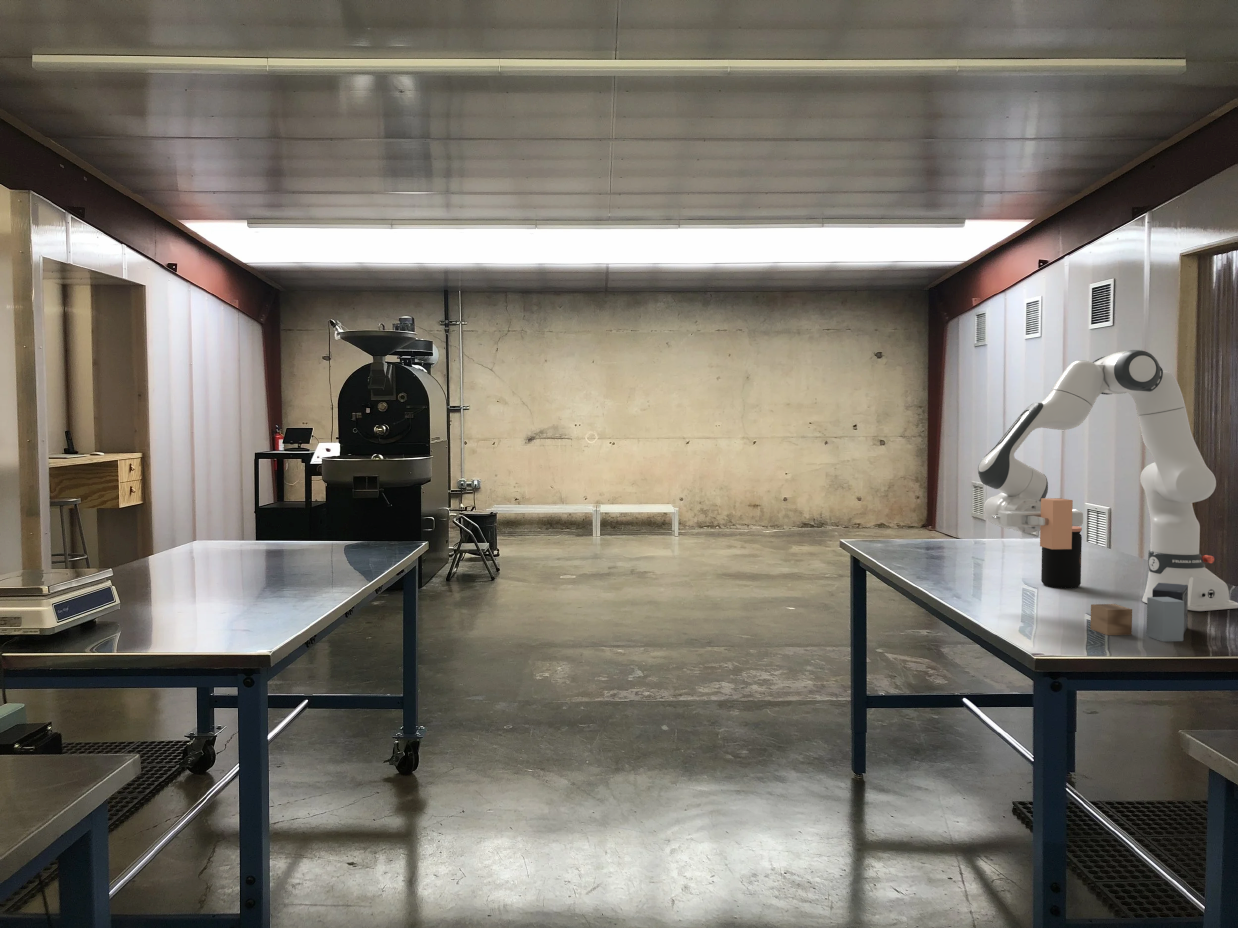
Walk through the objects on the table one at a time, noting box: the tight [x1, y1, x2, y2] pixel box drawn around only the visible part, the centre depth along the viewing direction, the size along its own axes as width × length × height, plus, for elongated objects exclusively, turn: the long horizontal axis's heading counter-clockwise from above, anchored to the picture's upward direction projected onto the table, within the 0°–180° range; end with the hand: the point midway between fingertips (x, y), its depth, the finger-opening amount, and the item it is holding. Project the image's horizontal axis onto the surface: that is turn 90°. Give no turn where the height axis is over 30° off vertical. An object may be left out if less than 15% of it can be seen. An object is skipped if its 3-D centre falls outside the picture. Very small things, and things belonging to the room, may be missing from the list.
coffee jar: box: [1040, 526, 1083, 590], centre depth 252 cm, size 11×11×18 cm
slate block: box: [1146, 597, 1185, 643], centre depth 189 cm, size 5×5×9 cm
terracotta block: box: [1039, 497, 1074, 549], centre depth 205 cm, size 5×5×12 cm
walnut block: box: [1090, 603, 1133, 636], centre depth 195 cm, size 6×6×6 cm
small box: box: [1152, 583, 1189, 636], centre depth 197 cm, size 11×6×10 cm, turn 141°
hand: (1058, 521), depth 204 cm, fingers closed on terracotta block, 5 cm apart
